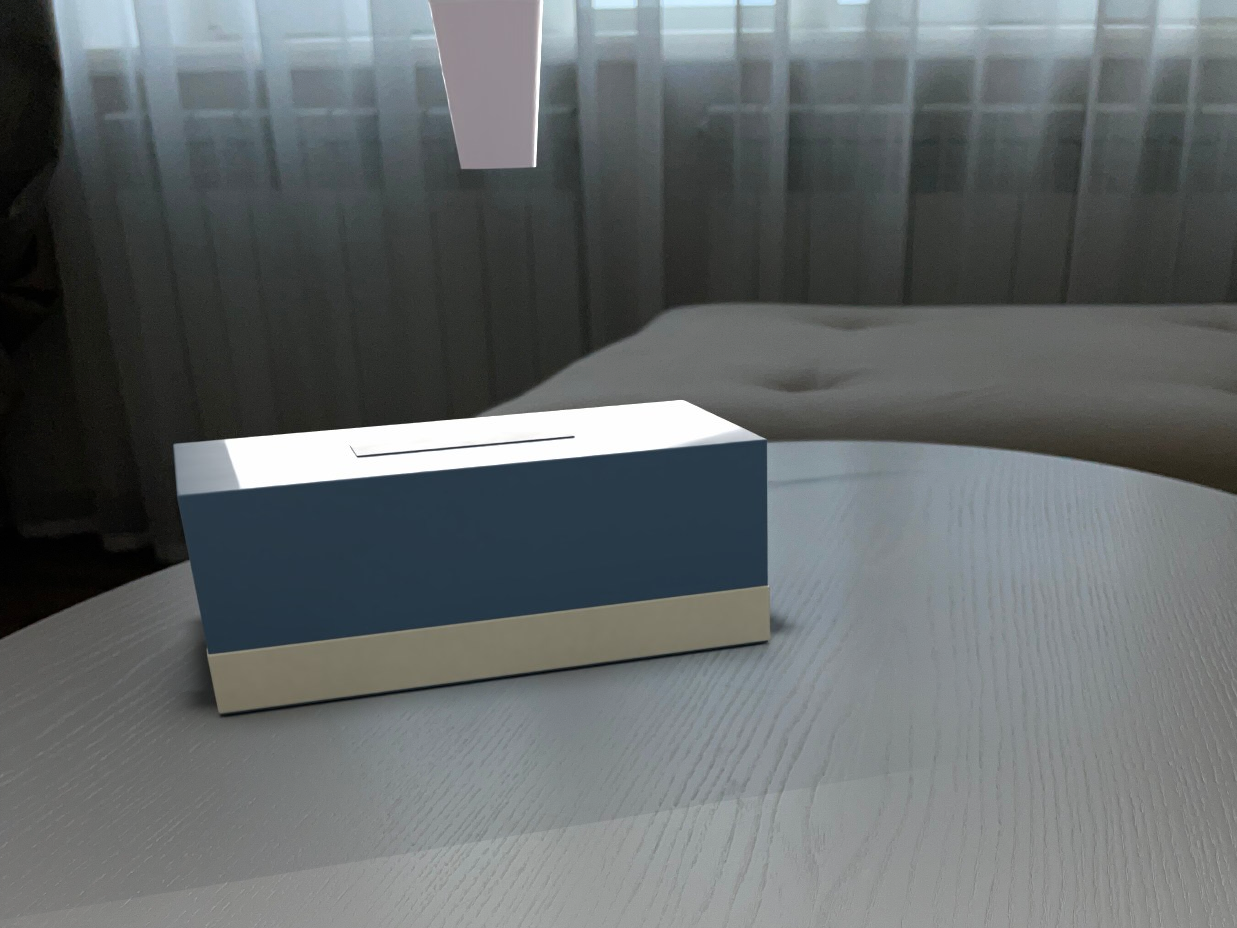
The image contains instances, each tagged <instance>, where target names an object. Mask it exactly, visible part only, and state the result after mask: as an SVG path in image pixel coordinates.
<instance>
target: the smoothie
mask: <svg viewBox="0 0 1237 928" xmlns="http://www.w3.org/2000/svg"><path fill="white" fill-rule="evenodd" d="M427 3H428V7H429V11H430V12H429V13H430V17H431V21H432V26H433V31H434V36H435V41H436V47H437V52H438V58H439V62H440V68H441V74H442V78H443V83H444V88H445V89H444V90H445V93H446V98H447V103H448V109H449V113H450V118H451V124H452V130H453V134H454V140H455V144H456V145H455V146H456V149H457V150H456V151H457V155H458V160H459V165H460V169H461V170H488V169H490V170H491V169H492V170H493V169H524V168H536V167H537V148H538V147H537V146H538V125H539V124H538V123H539V122H538V121H539V100H540V74H541V54H542V53H541V51H542V28H543V27H542V26H543V25H542V24H543V7H544V6H543V5H544V0H427Z"/></svg>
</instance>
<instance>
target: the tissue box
mask: <svg viewBox="0 0 1237 928" xmlns="http://www.w3.org/2000/svg"><path fill="white" fill-rule="evenodd" d="M172 448H173V450H172V451H173V462H174V474H175V485H176V486H175V487H176V498H177V504H178V508H179V513H180V519H181V525H182V528H183V534H184V539H185V543H186V549H187V554H188V558H189V563H190V568H191V574H192V579H193V584H194V589H195V594H196V598H197V603H198V604H197V605H198V609H199V615H200V619H201V624H202V629H203V634H204V639H205V644H206V655H207V656H206V657H207V662H208V666H209V672H210V677H211V682H212V688H213V692H214V696H215V701H216V706H217V711H218V714H220V715H221V716H227V715H234V714H235V715H236V714H242V713H249V712H250V713H251V712H257V711H264V710H272V709H279V708H285V707H287V708H288V707H294V706H301V705H302V706H303V705H309V704H316V703H323V702H331V701H338V700H345V699H355V698H360V697H367V696H368V697H369V696H375V695H384V694H390V693H398V692H405V691H411V690H413V691H414V690H420V689H426V688H427V689H428V688H435V687H443V686H449V685H458V684H465V683H473V682H479V681H488V680H494V679H502V678H508V677H517V676H523V675H524V676H525V675H531V674H532V675H533V674H539V673H546V672H554V671H555V672H556V671H560V670H568V669H576V668H584V667H591V666H599V665H607V664H613V663H622V662H628V661H635V660H643V659H650V658H658V657H666V656H673V655H680V654H687V653H694V652H703V651H710V650H718V649H725V648H732V647H733V648H734V647H740V646H747V645H754V644H761V643H768V642H769V641H770V639H771V592H770V591H771V587H770V585H769V578H768V577H769V561H768V560H769V557H768V556H769V549H768V548H769V547H768V545H769V544H768V543H769V542H768V541H769V539H768V537H769V536H768V535H769V533H768V532H769V531H768V528H769V527H768V440H767V438H764V437H763V436H760V435H758V434H756V433H755V432H752V431H750V430H747V429H745V428H743V427H742V426H739V425H737V424H735V423H732V422H730V421H729V420H726V419H724V418H722V417H720V416H717V415H716V414H714V413H711V412H710V411H707V410H706V409H703V408H701V407H699V406H697V405H695V404H693V403H690V402H688V401H686V400H683V399H679V400H668V401H656V402H644V403H633V404H621V405H610V406H609V405H608V406H599V407H597V406H596V407H586V408H573V409H564V410H563V409H562V410H551V411H539V412H528V413H527V412H526V413H517V414H515V413H514V414H505V415H492V416H482V417H471V418H459V419H457V418H456V419H447V420H435V421H425V422H423V421H422V422H413V423H401V424H388V425H378V426H365V427H355V428H343V429H332V430H331V429H330V430H320V431H319V430H318V431H307V432H295V433H285V434H273V435H262V436H248V437H238V438H225V439H215V440H205V441H204V440H203V441H191V442H179V443H173V445H172Z"/></svg>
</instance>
